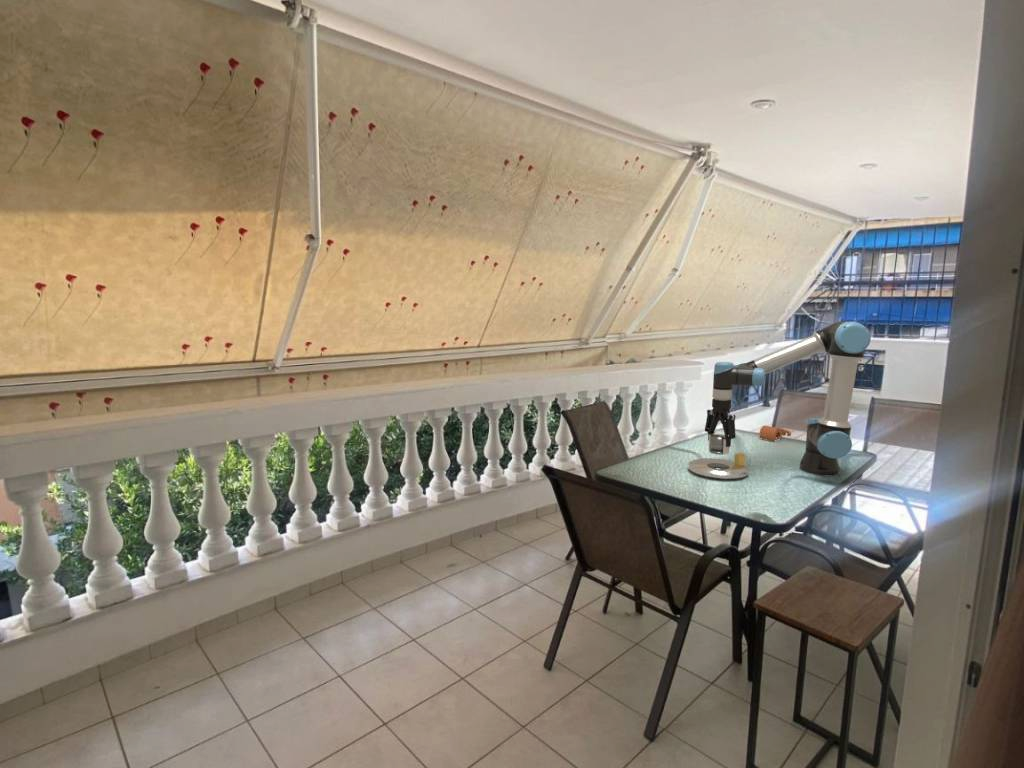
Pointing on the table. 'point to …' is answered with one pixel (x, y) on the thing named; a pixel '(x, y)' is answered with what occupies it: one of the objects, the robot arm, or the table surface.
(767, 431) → the orange elongated piece
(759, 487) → the table surface
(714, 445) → the cover
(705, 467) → the turntable
